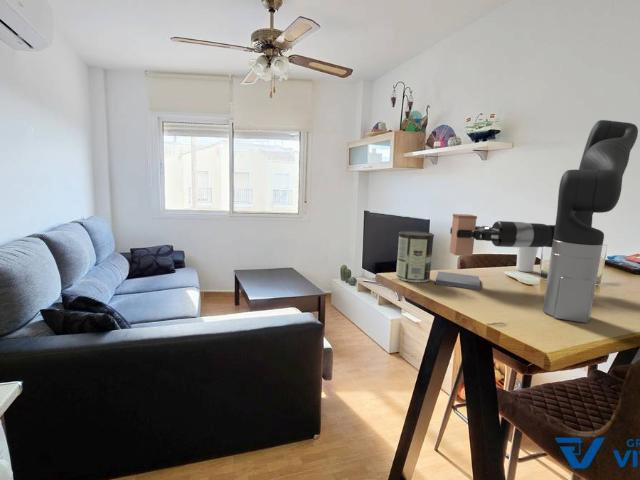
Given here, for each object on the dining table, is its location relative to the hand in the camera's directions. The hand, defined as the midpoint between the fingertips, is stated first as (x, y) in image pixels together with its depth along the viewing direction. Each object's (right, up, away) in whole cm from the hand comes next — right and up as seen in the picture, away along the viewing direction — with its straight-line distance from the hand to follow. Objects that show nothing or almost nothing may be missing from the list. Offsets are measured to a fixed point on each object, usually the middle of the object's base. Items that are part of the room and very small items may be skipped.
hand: (454, 232), depth 107 cm
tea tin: (+2, -7, +1) cm, 7 cm away
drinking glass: (+33, -14, +22) cm, 42 cm away
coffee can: (-11, -14, +4) cm, 19 cm away
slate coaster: (+2, -15, +2) cm, 15 cm away
